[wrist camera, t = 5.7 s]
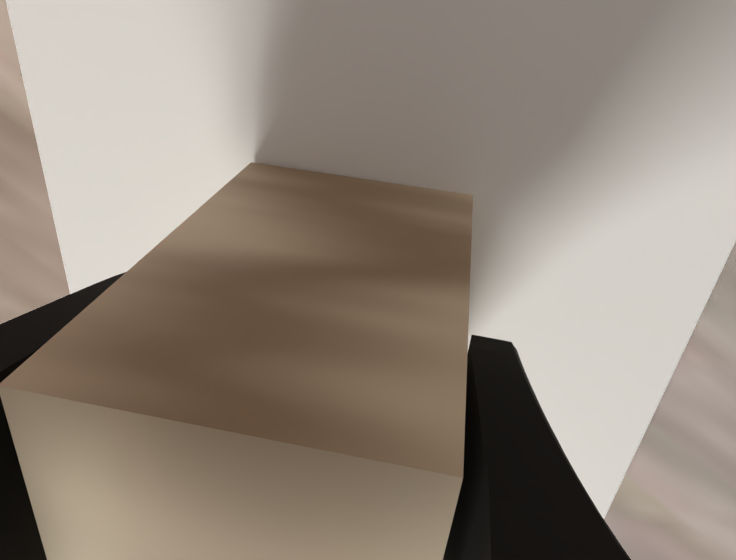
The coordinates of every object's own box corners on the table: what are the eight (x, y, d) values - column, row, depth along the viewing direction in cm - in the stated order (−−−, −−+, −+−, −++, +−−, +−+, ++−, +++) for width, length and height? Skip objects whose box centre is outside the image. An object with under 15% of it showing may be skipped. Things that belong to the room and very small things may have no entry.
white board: (852, -96, 9) (897, -99, 8) (589, 501, 16) (594, 538, 15) (17, -171, 11) (-35, -181, 10) (122, 400, 18) (99, 428, 17)
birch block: (473, 195, 11) (463, 477, 5) (438, 376, 13) (401, 724, 7) (250, 162, 12) (-2, 384, 6) (252, 342, 14) (71, 644, 8)
